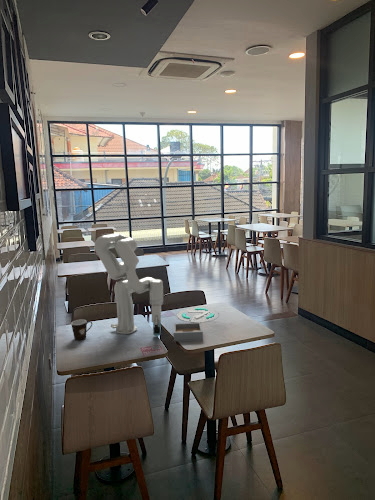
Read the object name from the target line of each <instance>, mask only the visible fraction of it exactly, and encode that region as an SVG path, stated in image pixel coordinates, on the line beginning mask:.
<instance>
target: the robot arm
mask: <svg viewBox="0 0 375 500" xmlns="http://www.w3.org/2000/svg"><path fill="white" fill-rule="evenodd" d="M137 248H138V245H137V241H136V240H135V239H134V238H132V237H130V236H127V235H124V234H121V233H108V234H104V235H101V236H98V237H97V238H96V240H95V242H94V251H95V254H96V255H97V257H98V258H99V260H100V261H101V263H102V265H103V266H104V268H105V271H106V272H107V274H108V276H109V278H110V279H112V280H114V281H117V280H118V281H117V282H116V283H115V284H114V286H113V291H114V295H115V300H116V301H115V302H116V315H117V323H114V324H113V323H110V328H112V329H115V332H116V333H117V334H119V335H130V334H133V333H135V332H137V330H138V327H137V326H136V325H135V317H134V302H133V298H132V296H131V294H132V293H135V294H138V295H139V294H143V293H145V292H147V291H149V305H150V306H151V323H153V322H154V334H159V333H160V327H159V322H160V319H161V317H162V305H164V284H163V283H164V282H163V280H162V279H159V278H153V277H150V276H146V277H143V278H140V279H139V277H138V275H137V272H136V268H137V265H138V264H139V263H140V260H139V257H138V256H137V254H136V253H135V251H136V250H137ZM110 249H115V251H116V253H117V255H118V257H119V258H120V260H121V261H119V260H118V259H117V256H116V255H115V254H114V253H113V252H112V251H111V250H110ZM120 279H121V280H120ZM161 320H162V319H161Z"/></svg>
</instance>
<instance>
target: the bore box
mask: <svg viewBox="0 0 375 500" xmlns="http://www.w3.org/2000/svg"><path fill="white" fill-rule="evenodd" d="M203 336H204V334H203V327H202V323H201V322H200V323H193V322H185V323H184V322H183V323H180V322H179V323H173V341H174V342H191V341H192V342H193V341H203V339H204V337H203Z"/></svg>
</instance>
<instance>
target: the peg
mask: <svg viewBox="0 0 375 500" xmlns="http://www.w3.org/2000/svg"><path fill="white" fill-rule="evenodd" d="M161 320H162V319H160V322H159V327H160V333H159V334H154V322H152V331H153V332H152V334H153V336H155V337H159V336H161V335H162V321H161Z"/></svg>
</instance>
